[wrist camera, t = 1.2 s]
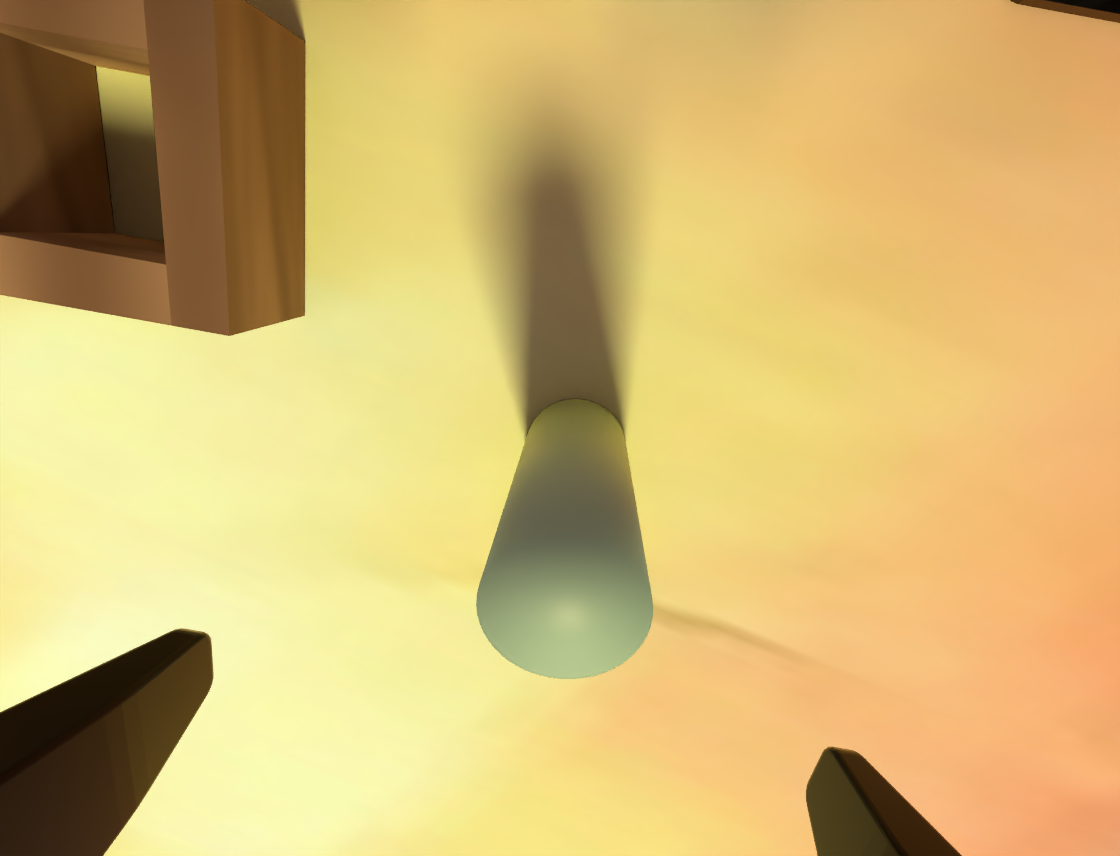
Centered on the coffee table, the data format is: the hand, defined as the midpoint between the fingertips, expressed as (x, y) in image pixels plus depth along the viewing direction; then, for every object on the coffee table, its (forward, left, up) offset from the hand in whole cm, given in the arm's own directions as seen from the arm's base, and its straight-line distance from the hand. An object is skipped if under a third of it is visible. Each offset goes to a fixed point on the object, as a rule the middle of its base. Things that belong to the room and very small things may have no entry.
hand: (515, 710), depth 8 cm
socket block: (+13, -6, -12) cm, 19 cm away
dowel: (-1, +1, -12) cm, 12 cm away
